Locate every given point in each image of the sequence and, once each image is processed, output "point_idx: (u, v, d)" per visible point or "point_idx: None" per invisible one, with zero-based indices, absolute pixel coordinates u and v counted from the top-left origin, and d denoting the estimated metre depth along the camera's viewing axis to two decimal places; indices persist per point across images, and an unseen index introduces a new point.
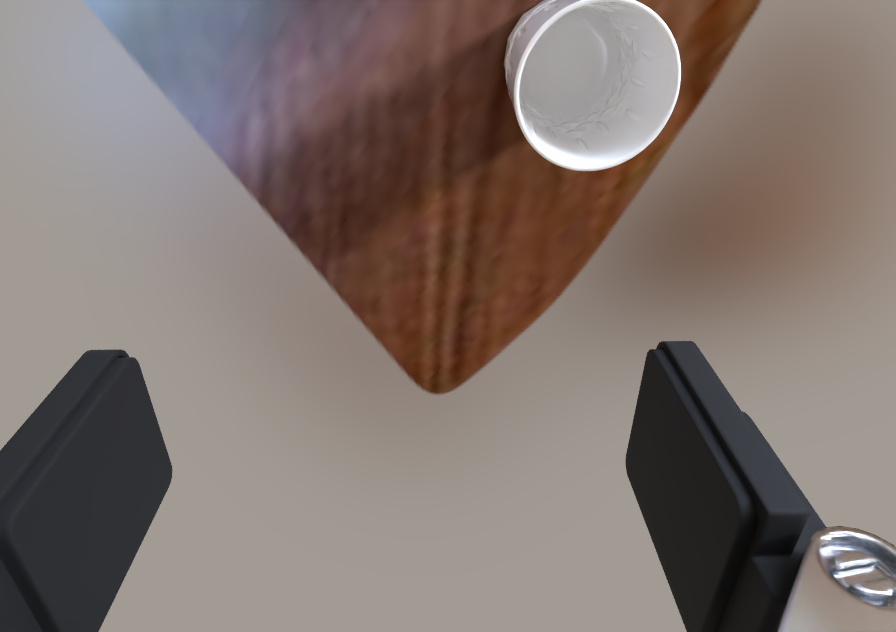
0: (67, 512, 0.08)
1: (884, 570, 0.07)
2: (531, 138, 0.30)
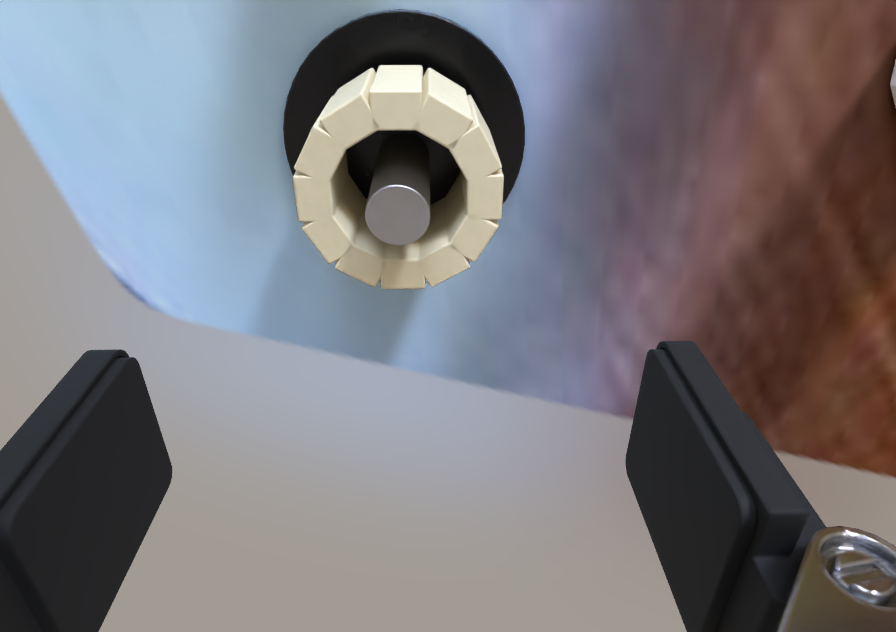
0: (67, 512, 0.08)
1: (884, 570, 0.07)
2: None
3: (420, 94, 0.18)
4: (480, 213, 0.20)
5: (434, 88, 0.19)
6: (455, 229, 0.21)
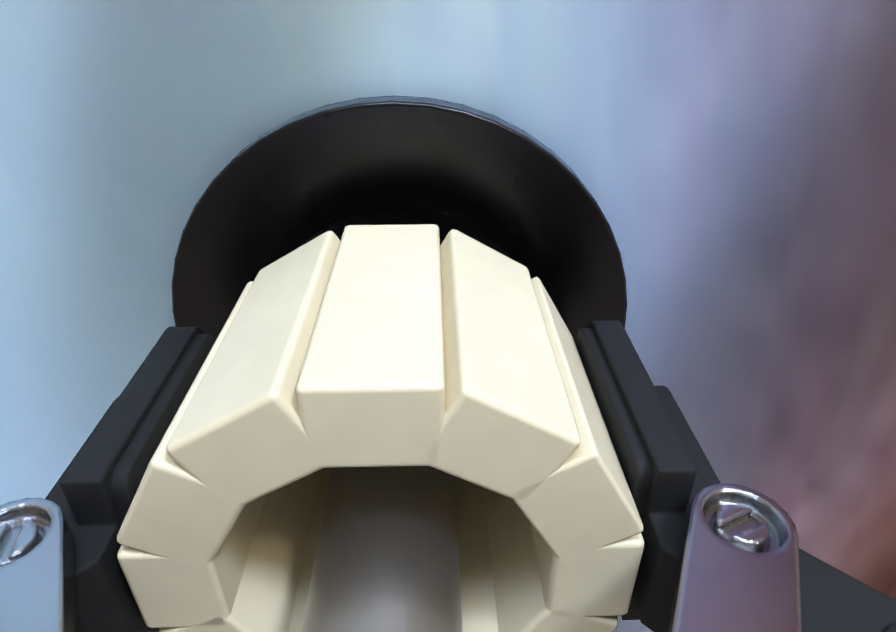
0: None
1: (757, 517, 0.08)
2: None
3: (440, 392, 0.06)
4: (580, 607, 0.08)
5: (474, 341, 0.07)
6: (516, 622, 0.09)
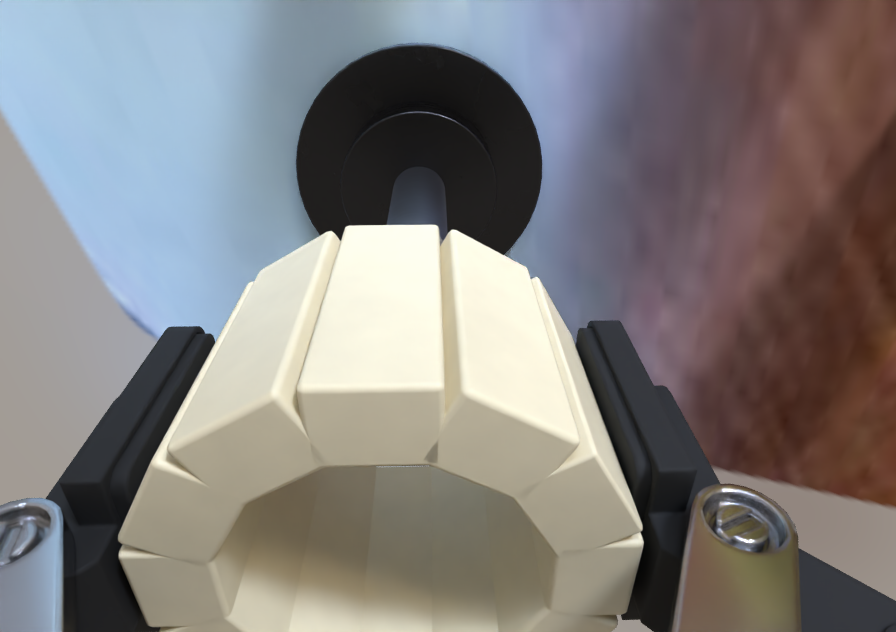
0: None
1: (756, 517, 0.08)
2: None
3: (440, 392, 0.07)
4: (579, 606, 0.08)
5: (474, 341, 0.07)
6: (516, 621, 0.09)
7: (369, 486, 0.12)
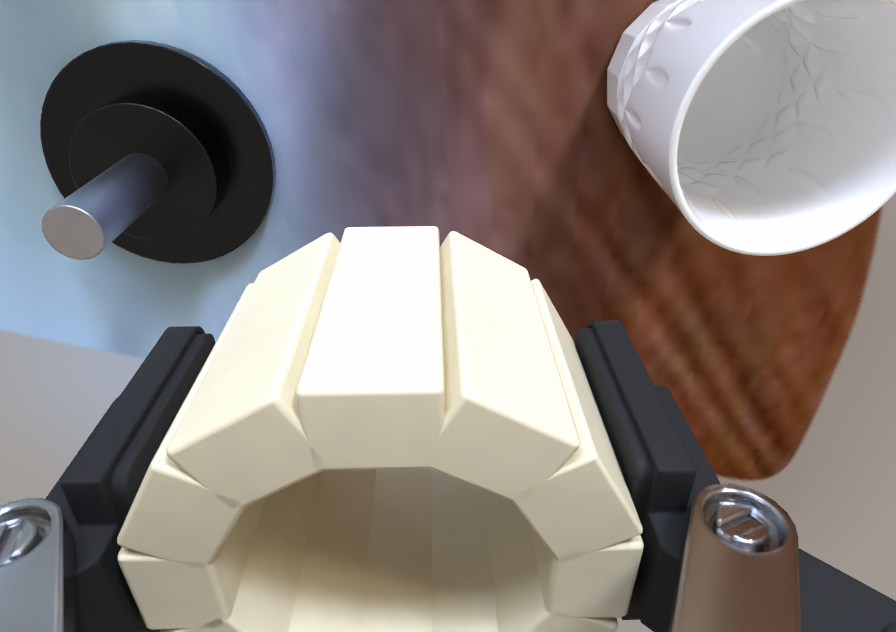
0: None
1: (757, 517, 0.08)
2: (746, 247, 0.20)
3: (440, 396, 0.07)
4: (579, 609, 0.08)
5: (474, 344, 0.07)
6: (516, 623, 0.09)
7: (369, 488, 0.12)
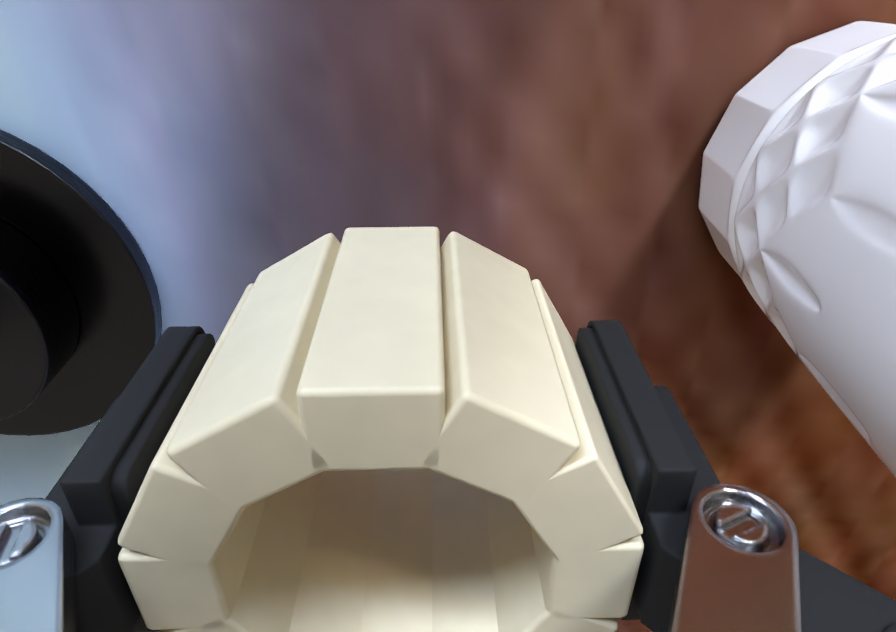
0: None
1: (756, 517, 0.08)
2: None
3: (441, 396, 0.07)
4: (579, 609, 0.08)
5: (474, 344, 0.07)
6: (516, 624, 0.09)
7: (369, 488, 0.12)
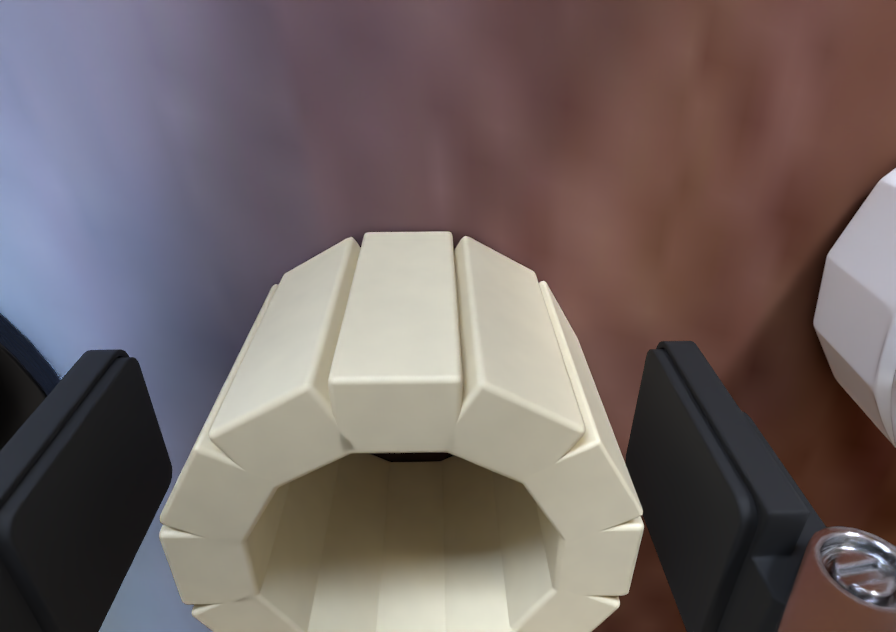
0: (67, 512, 0.08)
1: (884, 570, 0.07)
2: None
3: (459, 384, 0.07)
4: (584, 587, 0.09)
5: (488, 339, 0.08)
6: (525, 602, 0.10)
7: (383, 479, 0.13)
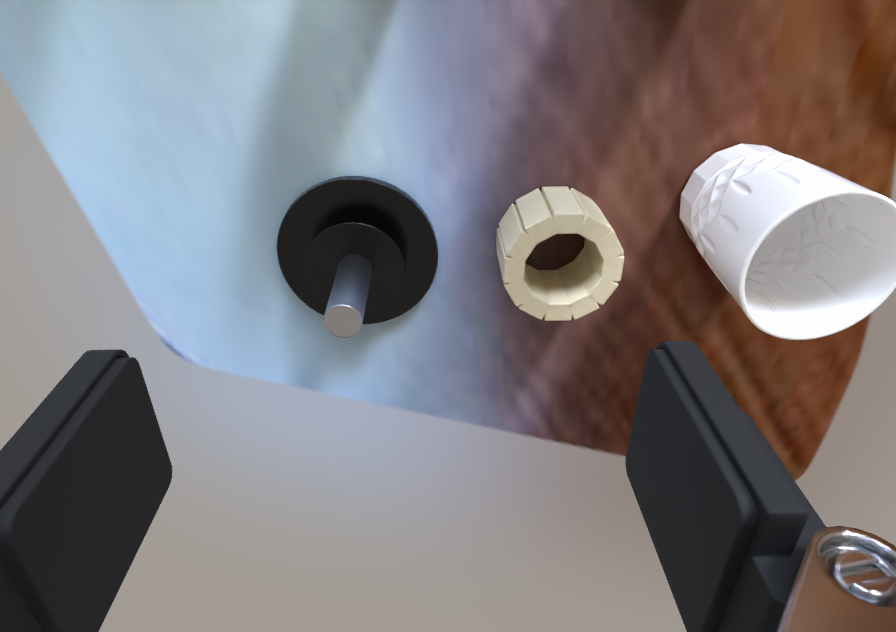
0: (67, 512, 0.08)
1: (884, 570, 0.07)
2: (785, 335, 0.31)
3: (583, 215, 0.33)
4: (609, 277, 0.35)
5: (586, 209, 0.34)
6: (592, 286, 0.35)
7: (538, 273, 0.39)
